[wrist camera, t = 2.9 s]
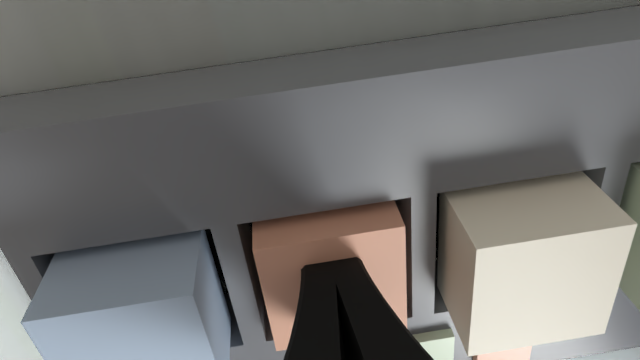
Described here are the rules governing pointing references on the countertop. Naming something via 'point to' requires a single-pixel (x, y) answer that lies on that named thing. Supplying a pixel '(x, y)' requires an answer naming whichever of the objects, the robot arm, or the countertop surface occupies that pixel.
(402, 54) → the keypad
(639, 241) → the key sage
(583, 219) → the key cream
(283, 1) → the countertop surface
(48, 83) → the countertop surface
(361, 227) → the key terracotta
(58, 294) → the key slate
